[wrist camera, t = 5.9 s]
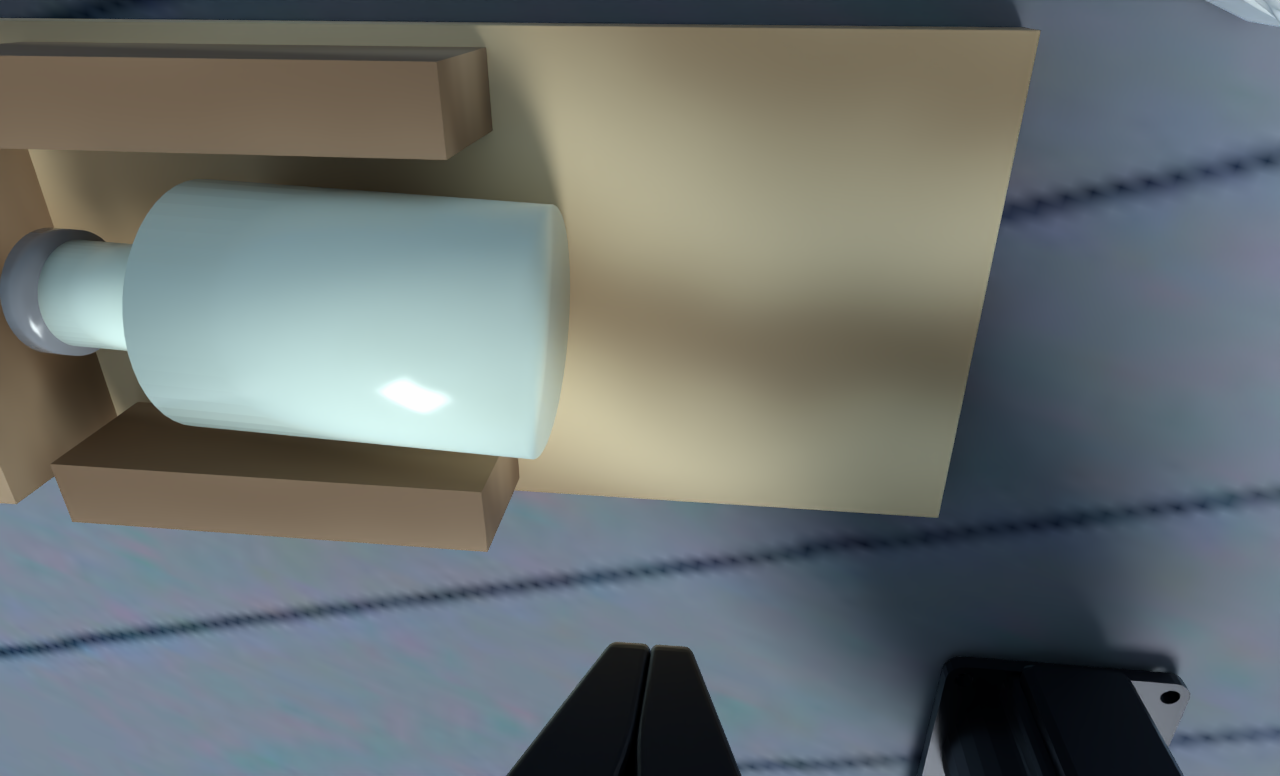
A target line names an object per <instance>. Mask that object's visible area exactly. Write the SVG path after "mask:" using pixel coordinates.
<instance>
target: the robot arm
mask: <svg viewBox="0 0 1280 776" xmlns="http://www.w3.org/2000/svg"><path fill="white" fill-rule="evenodd" d="M960 674H966V675H964V676H958V675H960ZM1167 691H1168V692H1167ZM1189 699H1190V692H1189V690H1188V689H1187V687H1186V685H1185V684H1184V682H1183V681H1182V679H1181V678H1180V677H1179V676H1177V675H1175V674H1171V673H1162V672H1150V671H1138V670H1125V669H1113V668H1100V667H1088V666H1075V665H1063V664H1051V663H1038V662H1026V661H1013V660H1001V659H988V658H976V657H955V658H952V659H950V660H948V661H947V662H946V663H945V664H944V666H943V668H942V672H941V676H940V680H939V684H938V689H937V693H936V697H935V701H934V705H933V710H932V714H931V718H930V722H929V726H928V731H927V735H926V739H925V743H924V747H923V752H922V756H921V760H920V764H919V768H918V773H917V776H1184V775H1183V773H1182V772H1181V770H1180V768H1179V766H1178V764H1177V763H1176V761H1175V759H1174V757H1173V755H1172V754H1171V752H1170V750H1169V748H1168V747H1169V745H1170V742H1171V740H1172V738H1173V735H1174V733H1175V731H1176V729H1177V726H1178V724H1179V722H1180V720H1181V717H1182V715H1183V713H1184V710H1185V708H1186V706H1187V704H1188V701H1189ZM506 776H741V773H740V771H739V768H738V766H737V763H736V761H735V758H734V756H733V753H732V751H731V748H730V745H729V743H728V740H727V738H726V735H725V733H724V730H723V728H722V725H721V723H720V720H719V718H718V715H717V713H716V710H715V707H714V705H713V702H712V700H711V697H710V695H709V692H708V690H707V687H706V685H705V682H704V680H703V677H702V674H701V672H700V669H699V667H698V664H697V662H696V659H695V657H694V654H693V652H692V651H691V650H690V649H689V648H688V647H682V646H668V645H655V646H654V647H653V648H652V649H651V651H650V648H649V647H648V646H647V645H646V644H639V643H625V642H614V643H612V644H610V645H609V646H608V647H607V648H606V649H605V650H604V652H603V653H602V654H601V656H600V657H599V658H598V659H597V661H596V662H595V663H594V664H593V666H592V667H591V668H590V670H589V671H588V672H587V673H586V675H585V676H584V677H583V679H582V680H581V681H580V682H579V684H578V685H577V686H576V687H575V689H574V690H573V691H572V693H571V694H570V695H569V696H568V698H567V699H566V700H565V701H564V703H563V704H562V705H561V707H560V708H559V709H558V710H557V712H556V713H555V714H554V716H553V717H552V718H551V719H550V721H549V722H548V723H547V724H546V726H545V727H544V728H543V730H542V731H541V732H540V733H539V735H538V736H537V737H536V738H535V740H534V741H533V742H532V744H531V745H530V746H529V747H528V749H527V750H526V751H525V752H524V754H523V755H522V756H521V758H520V759H519V760H518V761H517V763H516V764H515V765H514V767H513V768H512V769H511V770H510V772H509V773H508V774H507V775H506Z"/></svg>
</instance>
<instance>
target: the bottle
mask: <svg viewBox="0 0 1280 776" xmlns="http://www.w3.org/2000/svg"><path fill="white" fill-rule="evenodd" d="M0 299H1V306H2V310H3V313H4V316H5V318H6V321H7V323H8V325H9V327H10V328H11V330H12V331H13V333H14V334H15V335H16V336H17V338H18V339H19V340H20V341H21V342H23V343H24V344H25V345H26V346H28V347H30V348H32V349H34V350H36V351H39V352H43V353H51V354H61V355H72V356H83V355H88V354H91V353H93V352H96V351H98V350H99V349H101V348H102V349H113V350H124V351H128V355H129V358H130V362H131V365H132V368H133V371H134V373H135V375H136V377H137V380H138V382H139V384H140V386H141V387H142V389H143V391H144V392H145V394H146V396H147V397H148V398H149V400H150V401H151V402H152V403H153V405H154V406H155V407H156V408H157V409H158V410H159V411H161V412H162V413H163V414H164V415H165V416H167V417H169V418H170V419H172V420H173V421H176V422H178V423H181V424H184V425H189V426H197V427H207V428H218V429H228V430H238V431H248V432H258V433H269V434H279V435H289V436H299V437H309V438H320V439H330V440H340V441H350V442H360V443H370V444H381V445H391V446H401V447H411V448H421V449H432V450H442V451H452V452H462V453H472V454H483V455H493V456H503V457H513V458H523V459H536V458H538V457H539V456H540V455H541V453H542V452H543V450H544V448H545V446H546V444H547V442H548V439H549V437H550V434H551V431H552V428H553V424H554V420H555V417H556V413H557V408H558V404H559V399H560V393H561V388H562V382H563V376H564V368H565V361H566V352H567V341H568V329H569V311H570V264H569V250H568V240H567V234H566V228H565V224H564V220H563V217H562V214H561V212H560V210H559V209H558V207H557V206H555V205H553V204H539V203H526V202H512V201H499V200H485V199H472V198H458V197H445V196H431V195H418V194H404V193H391V192H377V191H364V190H350V189H336V188H323V187H309V186H296V185H282V184H269V183H255V182H242V181H228V180H215V179H193V180H189V181H185V182H183V183H181V184H178V185H176V186H175V187H173V188H172V189H170V190H169V191H167V192H166V193H165V194H164V195H163V196H162V197H161V198H160V199H159V200H158V201H157V202H156V203H155V204H154V205H153V207H152V208H151V209H150V211H149V212H148V213H147V215H146V217H145V219H144V220H143V222H142V224H141V226H140V227H139V230H138V232H137V234H136V237H135V239H134V242H133V244H127V243H114V242H106V241H104V240H103V239H102V238H101V237H99V236H98V235H96V234H94V233H91V232H89V231H85V230H76V229H63V228H51V227H50V228H41V229H37V230H34V231H32V232H30V233H28V234H27V235H25V236H24V237H22V238H21V239H20V240H19V241H18V242H17V243H16V244H15V245H14V247H13V248H12V250H11V251H10V253H9V254H8V256H7V259H6V261H5V263H4V266H3V269H2V274H1V279H0Z"/></svg>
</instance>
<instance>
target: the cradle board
mask: <svg viewBox="0 0 1280 776" xmlns="http://www.w3.org/2000/svg"><path fill="white" fill-rule="evenodd" d="M1039 36H1040V30H1035V29H1029V28H1024V27H922V26H814V25H706V24H598V23H490V22H382V21H274V20H166V19H58V18H0V279H1V274H2V269H3V266H4V263H5V261H6V259H7V256H8V254H9V253H10V251H11V250H12V248H13V247H14V245H15V244H16V243H17V242H18V241H19V240H20V239H21V238H22V237H24V236H25V235H27V234H28V233H30V232H32V231H34V230H37V229H41V228H50V227H51V228H63V229H76V230H85V231H89V232H91V233H94V234H96V235H98V236H99V237H101V238H102V239H103V240H104V241H106V242H114V243H127V244H133V242H134V239H135V237H136V234H137V232H138V230H139V227H140V226H141V224H142V222H143V220H144V219H145V217H146V215H147V213H148V212H149V211H150V209H151V208H152V207H153V205H154V204H155V203H156V202H157V201H158V200H159V199H160V198H161V197H162V196H163V195H164V194H165V193H166V192H167V191H169V190H170V189H172V188H173V187H175V186H176V185H178V184H181V183H183V182H185V181H189V180H193V179H215V180H228V181H242V182H255V183H269V184H282V185H296V186H309V187H323V188H336V189H350V190H364V191H377V192H391V193H404V194H418V195H431V196H445V197H458V198H472V199H485V200H499V201H512V202H526V203H539V204H553V205H555V206H557V207H558V209H559V210H560V212H561V214H562V217H563V220H564V224H565V228H566V234H567V240H568V250H569V264H570V311H569V329H568V341H567V352H566V361H565V368H564V376H563V382H562V388H561V393H560V399H559V404H558V408H557V413H556V417H555V420H554V424H553V428H552V431H551V434H550V437H549V439H548V442H547V444H546V446H545V448H544V450H543V452H542V453H541V455H540V456H539V457H538V458H536V459H523V458H513V457H503V456H493V455H483V454H472V453H462V452H452V451H442V450H432V449H421V448H411V447H401V446H391V445H381V444H370V443H360V442H350V441H340V440H330V439H320V438H309V437H299V436H289V435H279V434H269V433H258V432H248V431H238V430H228V429H218V428H207V427H197V426H189V425H184V424H181V423H178V422H176V421H173V420H172V419H170V418H169V417H167V416H165V415H164V414H163V413H162V412H161V411H159V410H158V409H157V408H156V407H155V406H154V405H153V403H152V402H151V401H150V400H149V398H148V397H147V396H146V394H145V392H144V391H143V389H142V387H141V386H140V384H139V382H138V380H137V377H136V375H135V373H134V371H133V368H132V365H131V362H130V358H129V355H128V351H124V350H113V349H102V348H101V349H99V350H98V351H96V352H93V353H91V354H88V355H83V356H72V355H61V354H51V353H43V352H39V351H36V350H34V349H32V348H30V347H28V346H26V345H25V344H24V343H23V342H21V341H20V340H19V339H18V338H17V336H16V335H15V334H14V333H13V331H12V330H11V328H10V327H9V325H8V323H7V321H6V318H5V316H4V313H3V310H2V306H1V299H0V503H8V504H17V503H19V502H20V501H21V500H23V499H24V498H25V497H27V496H28V495H29V494H31V493H32V492H34V491H35V490H36V489H38V488H39V487H40V486H42V485H43V484H44V483H46V482H47V481H49V480H50V479H51V478H53V477H54V476H55V478H56V481H57V483H58V486H59V488H60V491H61V494H62V496H63V499H64V501H65V504H66V506H67V509H68V511H69V514H70V517H71V519H72V522H83V523H97V524H111V525H125V526H139V527H152V528H166V529H180V530H194V531H208V532H221V533H235V534H249V535H263V536H277V537H290V538H304V539H318V540H332V541H346V542H359V543H373V544H387V545H401V546H415V547H428V548H442V549H456V550H470V551H484V552H488V550H489V547H490V545H491V543H492V540H493V538H494V536H495V533H496V531H497V529H498V527H499V524H500V522H501V520H502V517H503V515H504V513H505V510H506V508H507V506H508V503H509V501H510V499H511V497H512V494H513V492H514V490H518V491H533V492H548V493H564V494H579V495H595V496H610V497H625V498H641V499H656V500H672V501H687V502H702V503H718V504H733V505H749V506H764V507H779V508H795V509H810V510H826V511H841V512H856V513H872V514H887V515H903V516H918V517H934V518H938V516H939V511H940V507H941V502H942V497H943V492H944V488H945V483H946V478H947V473H948V469H949V464H950V459H951V454H952V450H953V445H954V440H955V435H956V431H957V426H958V421H959V416H960V412H961V407H962V402H963V397H964V393H965V388H966V383H967V378H968V374H969V369H970V364H971V359H972V355H973V350H974V345H975V340H976V336H977V331H978V326H979V321H980V317H981V312H982V307H983V302H984V298H985V293H986V288H987V283H988V279H989V274H990V269H991V264H992V260H993V255H994V250H995V245H996V241H997V236H998V231H999V226H1000V222H1001V217H1002V212H1003V207H1004V203H1005V198H1006V193H1007V188H1008V183H1009V179H1010V174H1011V169H1012V164H1013V160H1014V155H1015V150H1016V145H1017V141H1018V136H1019V131H1020V126H1021V122H1022V117H1023V112H1024V107H1025V103H1026V98H1027V93H1028V88H1029V84H1030V79H1031V74H1032V69H1033V65H1034V60H1035V55H1036V50H1037V46H1038V41H1039Z"/></svg>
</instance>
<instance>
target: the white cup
mask: <svg viewBox="0 0 1280 776" xmlns="http://www.w3.org/2000/svg"><path fill="white" fill-rule="evenodd" d="M1205 1H1207V2H1209V3H1211V4H1213V5H1215V6H1217V7H1219V8H1221V9H1223V10H1225V11H1227V12H1229V13H1231V14H1233V15H1235V16H1237V17H1239V18H1241V19H1243V20H1246V21H1249V22H1254V23H1260V24H1266V25H1272V26H1278V27H1280V0H1205Z"/></svg>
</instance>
